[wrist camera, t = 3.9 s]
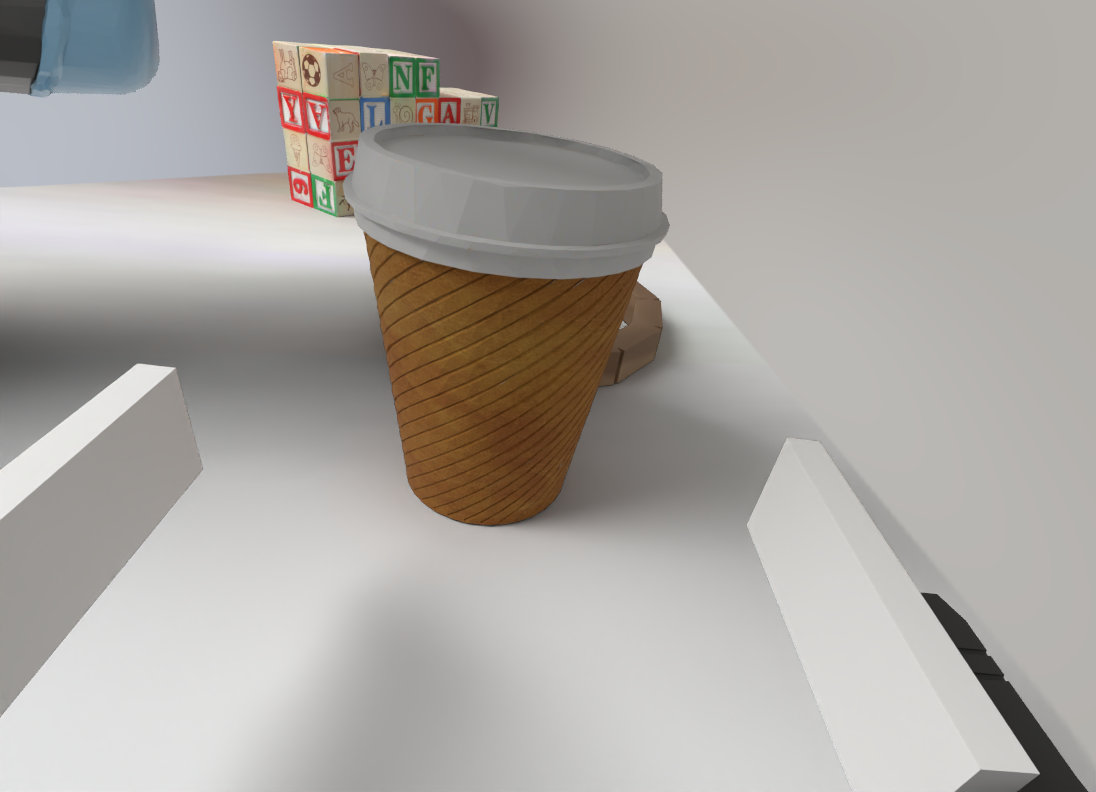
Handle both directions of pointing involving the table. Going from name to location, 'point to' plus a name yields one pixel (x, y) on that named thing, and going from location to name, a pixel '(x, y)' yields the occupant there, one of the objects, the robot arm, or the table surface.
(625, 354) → the walnut bead ring
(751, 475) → the table surface
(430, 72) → the stack of blocks
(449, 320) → the disposable coffee cup
